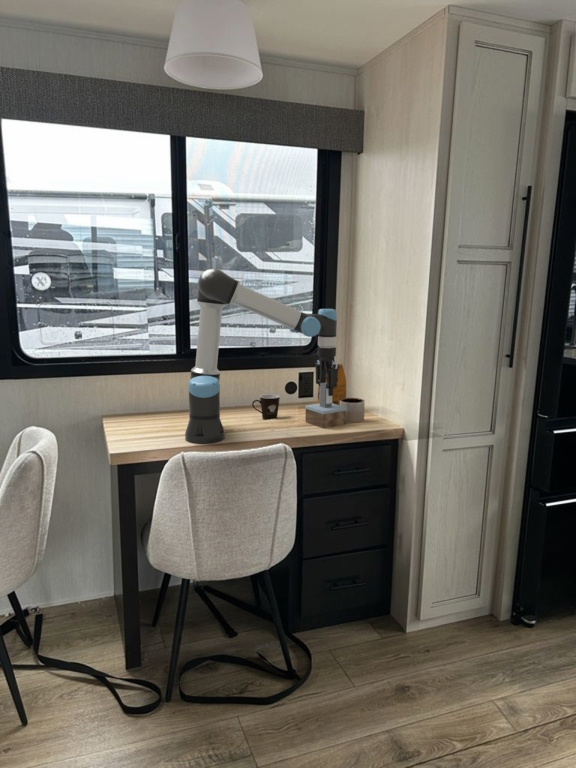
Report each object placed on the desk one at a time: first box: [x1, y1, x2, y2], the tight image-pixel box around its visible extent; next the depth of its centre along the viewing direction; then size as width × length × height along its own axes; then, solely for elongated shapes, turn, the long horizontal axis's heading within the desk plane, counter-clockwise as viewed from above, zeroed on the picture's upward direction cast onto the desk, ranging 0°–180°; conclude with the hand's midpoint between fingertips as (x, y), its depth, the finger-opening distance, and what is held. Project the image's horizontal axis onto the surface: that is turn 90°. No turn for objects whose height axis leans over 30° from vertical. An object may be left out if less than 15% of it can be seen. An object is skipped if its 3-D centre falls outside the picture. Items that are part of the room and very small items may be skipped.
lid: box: [304, 382, 347, 414], centre depth 244 cm, size 12×12×13 cm
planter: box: [340, 397, 366, 424], centre depth 253 cm, size 11×11×10 cm
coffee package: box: [316, 363, 347, 406], centre depth 270 cm, size 10×12×22 cm
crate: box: [305, 409, 347, 429], centre depth 246 cm, size 12×12×7 cm
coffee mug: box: [251, 393, 281, 421], centre depth 257 cm, size 12×9×10 cm
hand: (325, 402), depth 245 cm, fingers closed on lid, 3 cm apart
